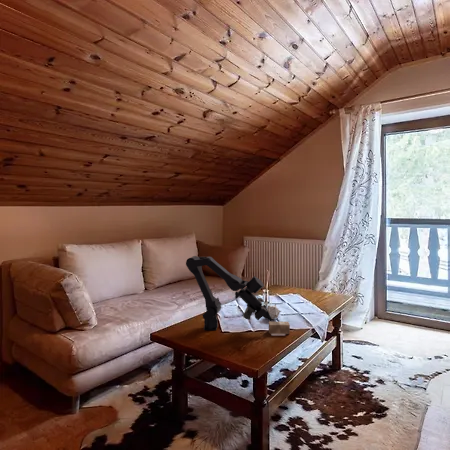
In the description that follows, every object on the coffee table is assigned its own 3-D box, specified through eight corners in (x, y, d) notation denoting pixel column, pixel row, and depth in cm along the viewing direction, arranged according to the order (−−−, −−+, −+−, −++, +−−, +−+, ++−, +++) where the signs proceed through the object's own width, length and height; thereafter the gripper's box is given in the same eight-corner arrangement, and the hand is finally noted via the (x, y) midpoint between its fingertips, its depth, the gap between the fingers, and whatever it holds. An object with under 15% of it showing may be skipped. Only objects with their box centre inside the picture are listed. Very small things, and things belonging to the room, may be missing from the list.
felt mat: (271, 335, 175) (271, 334, 175) (269, 329, 182) (269, 329, 182) (285, 335, 175) (285, 334, 175) (283, 329, 182) (283, 329, 182)
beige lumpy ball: (275, 326, 196) (280, 316, 190) (261, 320, 198) (265, 309, 191) (279, 314, 203) (284, 304, 197) (265, 308, 204) (270, 297, 198)
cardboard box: (269, 324, 176) (289, 324, 176) (268, 321, 180) (288, 321, 180) (269, 333, 176) (289, 333, 176) (268, 330, 181) (288, 330, 181)
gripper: (237, 303, 187) (258, 323, 188) (238, 315, 168) (261, 338, 169) (252, 289, 186) (273, 309, 187) (254, 300, 168) (277, 322, 168)
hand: (270, 319), depth 178 cm, fingers closed
